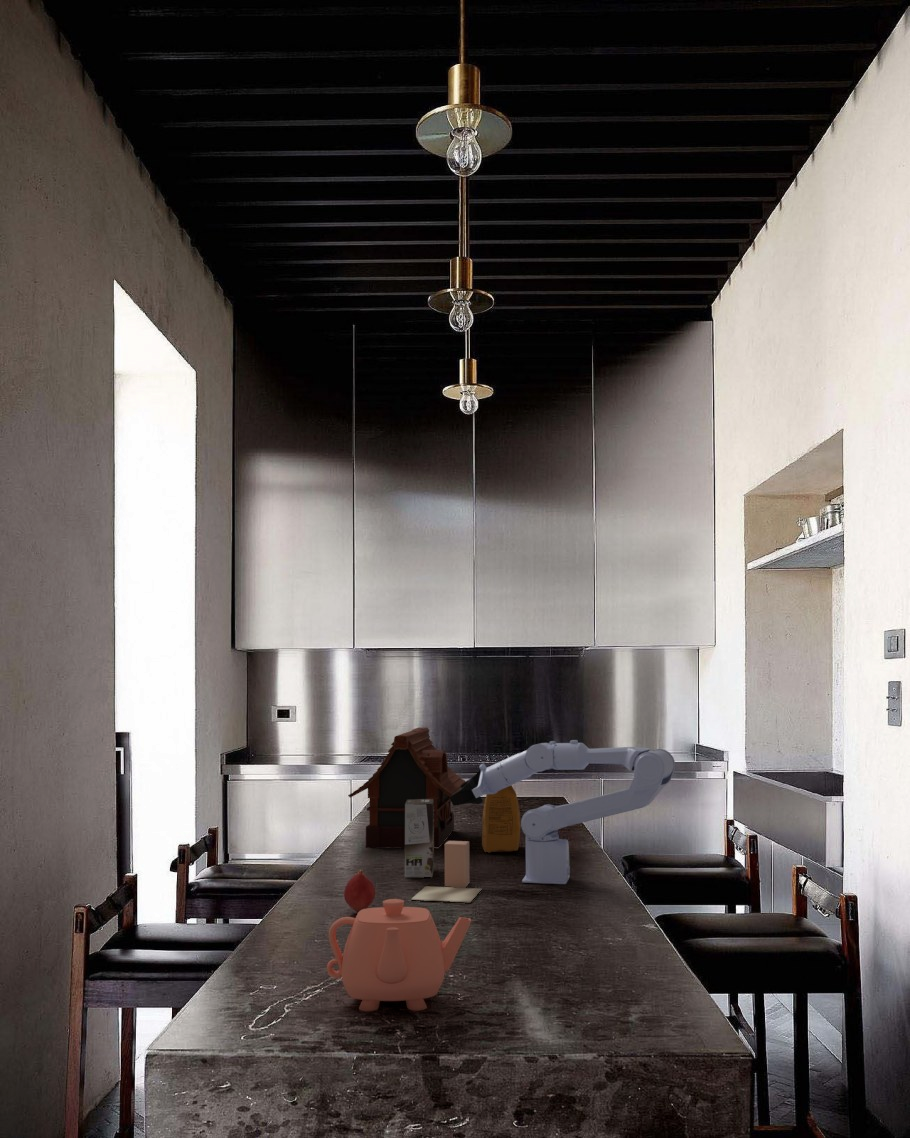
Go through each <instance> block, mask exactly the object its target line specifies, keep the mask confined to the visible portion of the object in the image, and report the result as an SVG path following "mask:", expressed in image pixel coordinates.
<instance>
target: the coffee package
mask: <svg viewBox="0 0 910 1138" xmlns="http://www.w3.org/2000/svg"><path fill="white" fill-rule="evenodd" d="M485 795H486V797H485V799H484V805H483V810H482V811H483V812H482V821H481V824H482V825H481V846H482V849H483V851H484V852H485V853H486V852H488V853H487V854H492V853H491V852H499V853H509V852H510V853H511V852H515V851H518V850H519V847H520V846H519V845H520V839H521V812H520V807H519V801H518V796H517V795H518V794H517V793H516V790H515V789H514V787H513V785H511V786H508V787H506V788H504V789H502V790H500V791H498V792H497V793H495V794H485Z"/></svg>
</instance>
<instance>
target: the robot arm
mask: <svg viewBox="0 0 910 1138" xmlns="http://www.w3.org/2000/svg"><path fill="white" fill-rule="evenodd" d="M589 764H601V765H604V764H605V765H622V766H624V767H625V768H626V769H627V770H628V771H630V772H633V779H632V781H631V784H630V785H629V788H624V789H621V790H617V791H614V792H609V793H605V794H601V795H598V796H593V797H590V798H585V799H582V800H579V801H574V802H571V803H567V804H566V803H565V804H562V805H561V804H560V805H553V804H544V805H541V806H539V807H536V808H533V809H532V808H531V809H529V810H527V811H525V812H524V813H523V815H522V817H521V818H520V820H521V825H520V828H521V831H522V832H523V834H524V835H525V876H524V877H523V878H522V880H521V882H522V883H527V884H528V883H529V884H549V885H550V884H553V885H566V884H567V883H568V881H569V879H570V878H571V876H570V874H571V867H570V847H569V845H570V844H569V841H568V839H565V838H564V839H562V838H560V837H559V836H560V835H559V832H558V831H559V830H560V829H563V828H566V827H570V826H575V825H578V824H582V823H586V822H589V821H594V820H598V819H603V818H606V817H611V816H615V815H618V814H624V813H627V812H631V811H636V810H640V809H643V808H645V807H647V806H649V805H650V804H651V803H652V802H653V801H654V800H655V799H656V797H657V796H658V795H659V794H660V793H661V791H662V790H663V789H664V788H665V787H666V786H667V785H668V784H669V783H670V782H671V781H672V777H673V775H674V772H675V769H676V761H675V758H674V757H673V755H672V753H670V751H668V750H666V749H663V748H656V749H653V750H652V748H650V747H639V746H638V747H637V746H620V747H618V746H617V747H601V748H599V747H598V748H589V747H588V746H587V745H586V744H585V743H583V742H579V741H578V739H571V740H570V741H569V742H559V743H557V742H556V741H555V740H551V741H549V742H541V743H537V744H536V743H535V744H532V745H531V746H529V747H528V748H527V749H526V750H524V751H522V752H518V753H516V754H513V755H512V756H509V757H507V758H504V759H503V760H500V761H498V762H496V763H494V764H492V765H489V766H486V764H485V763H481V764H480V765H479V770H478V771H477V773H475V774H474V775H473V776H472V777H470V778H469V779H468V780H465V781H466V782H465V783H463V784H462V785H461V789H460V790H459V791H457V792H455V793H454V794H453V795H452V796H451V797H450V800H451V805H452V806H454V807H455V806H460V805H466V804H473V805H474V804H475V805H480V804H482V803H483V802H484V800H483V799H482V797H483V796H484V795H487V794H495V793H497V792H498V791H500V790H502V789H504V788H506V787H508V786H511V785H512V786H513V785H514V784H517V783H519V782H521V781H524V780H526V779H528V778H530V777H532V776H533V775H534V774H537V773H540V772H545V771H546V770H555V771H559V770H560V771H564V770H567V771H569V770H570V771H573V770H575V771H576V770H578V771H579V770H580V771H581V770H585V769H586V767H587V766H588V765H589Z"/></svg>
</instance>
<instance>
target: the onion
mask: <svg viewBox="0 0 910 1138" xmlns="http://www.w3.org/2000/svg"><path fill="white" fill-rule="evenodd" d="M343 897H344V901H345V902H346V904H347V905H348V906H349V907H350V908H351V909H352V910H354V911H355V912H356V913H357V914H358V912H359V911H361V910H362V909H367V908H369V907H370V906H371V904H372V903H373V902H374V900H375V898H376V887H375V885H374V883H373V882H372V880H370V878H368V877H367V876H366V875H365V874H364V871H363V869H359V870H358V871H357V873H355V874H354V875H353V876H351V878H350V879H349V880H348V882H347V883H346V885H345V888H344V889H343Z"/></svg>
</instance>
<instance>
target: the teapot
mask: <svg viewBox="0 0 910 1138" xmlns="http://www.w3.org/2000/svg"><path fill="white" fill-rule="evenodd" d="M382 905H383V906H381V907H378V906H377V907H367V908H366V909H362V910H361V911H359V912H358V913H357V915H356V916H355V917H352V916H343V917H340V918H338V919H337V920H335V921H334V922H333V923H332V924H331V925H330V927H329V930H328V941H329V944H330V947H331V951H332V953H333V956H334V957H335V958H332V959H331V960H330V961H328V963H327V965H326V972H327V974H328V976H329V977H331V978H332V979H341V980H342V984H343V987H344V989H345V990H346V993H347V994H348V996H349V997H350V998H352V999H356V1000H362V1001H361V1002H360V1005H358V1010H359V1011H361V1012H374V1011H377V1010H379V1007H380V1002H401V1001H405V1003H406V1007H407V1009H408V1010H410V1011H417V1012H419V1011H424V1010H425V1009H428V1006H427V1004H426V1002H425V999H429V998H432V997H435V996H436V995H437V994H438V992H439V990H440V989H441V986H442V985H443V981H444V978H445V975H446V972H449V971H450V969H451V966H452V964H453V963H454V960H455V958H456V957H457V954H458V952H459V949H460V947H461V945H462V943H463V941H464V939H465V936H466V934H467V932H468V930H469V928H470V925H471V924H472V919H471V918H470V917H461V916H460V917H458V919H457V921H456V922H455V924H454V925H453V926H452V928H451V930H450V931H449V932H448V934H447V935H446V937H445V939H444V940H443V941H441V937H440V935H439V931H438V928H437V926H436V924H435V921H434V918H433V916H432V914H431V912H430V911H429V909H428V908H426V907H419V906H418V907H417V906H416V907H415V906H405V900H403V899H400V898H391V899H390V898H388V899H385V900H383V901H382ZM343 925H351V929H350V931H349V933H348V936H347V939H346V942H345V945H344V950H343V954H342V951H341V949H340V946H339V944H338V940H337V929H338V928H339V927H341V926H343ZM334 965H338V970H335V969H334V968H333V967H334Z"/></svg>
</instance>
